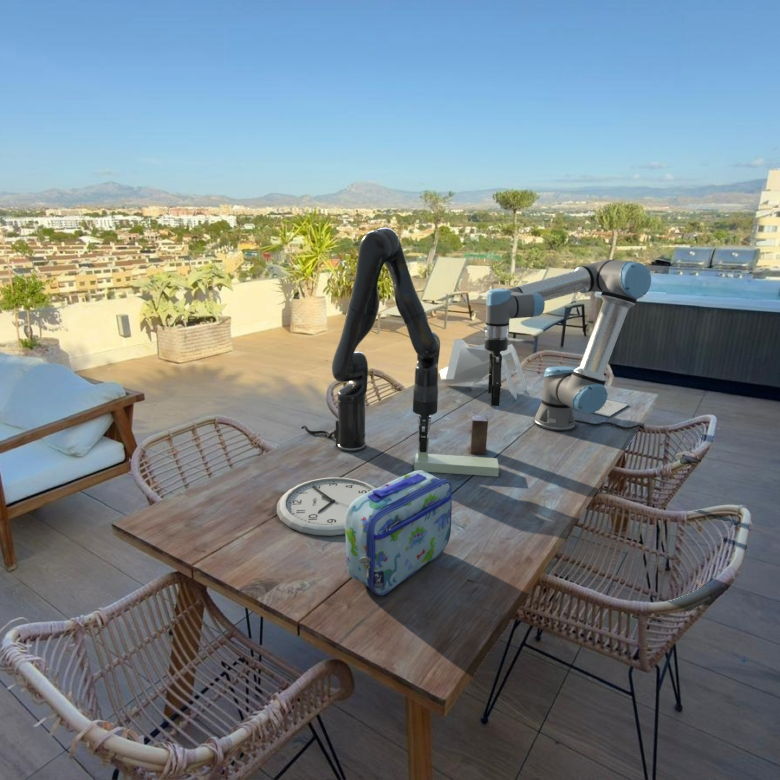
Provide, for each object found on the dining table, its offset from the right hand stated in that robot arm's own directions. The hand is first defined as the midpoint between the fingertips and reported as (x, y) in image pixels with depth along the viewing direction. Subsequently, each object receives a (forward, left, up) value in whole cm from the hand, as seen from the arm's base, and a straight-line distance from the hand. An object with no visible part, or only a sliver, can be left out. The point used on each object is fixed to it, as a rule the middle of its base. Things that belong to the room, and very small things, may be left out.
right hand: (493, 399), depth 177 cm
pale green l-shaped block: (+12, +19, -18) cm, 28 cm away
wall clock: (+45, +47, -18) cm, 67 cm away
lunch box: (+24, +72, -18) cm, 78 cm away
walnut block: (+4, +4, -18) cm, 19 cm away
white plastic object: (+1, -64, -18) cm, 66 cm away
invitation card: (-51, -52, -18) cm, 75 cm away
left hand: (+22, +19, -12) cm, 31 cm away
